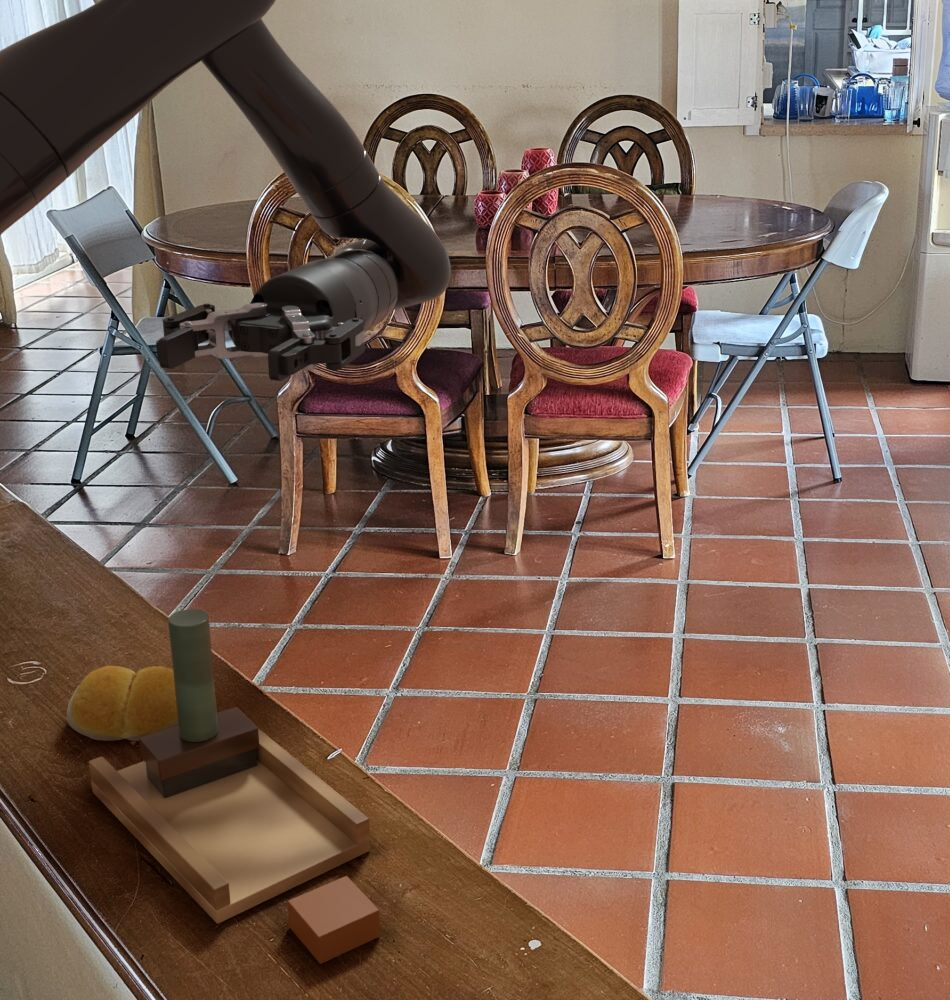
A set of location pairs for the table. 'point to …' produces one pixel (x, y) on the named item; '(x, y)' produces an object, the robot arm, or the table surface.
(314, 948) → the brown block
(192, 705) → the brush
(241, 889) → the tray
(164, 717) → the bread roll
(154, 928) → the table surface
